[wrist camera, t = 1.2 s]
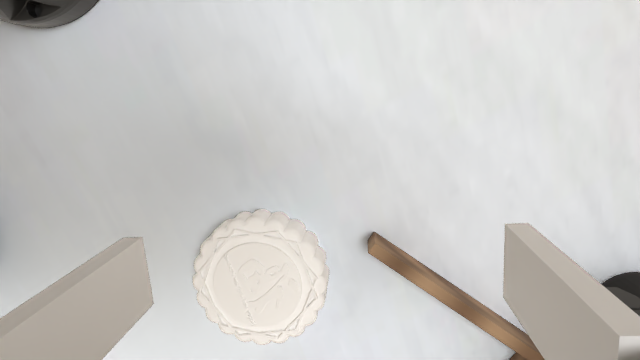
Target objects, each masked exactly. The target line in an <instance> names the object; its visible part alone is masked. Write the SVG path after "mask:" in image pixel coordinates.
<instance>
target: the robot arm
mask: <svg viewBox="0 0 640 360" xmlns="http://www.w3.org/2000/svg"><path fill="white" fill-rule="evenodd" d="M97 1H98V0H0V20H3V21H6V22H10V23H15V24H20V25H25V26H30V27H39V28H46V27H55V26H60V25H63V24H66V23H69V22H71V21H73V20H75V19H77V18H79V17H80V16H82V15H83V14H85V13H86V12H87V11H88V10H90V9H91V8H92V7H93V6H94V5H95V3H96V2H97ZM503 298H504V299H505V301H506V302H507V304H508V305H509V307H510V308H511V310H512V311H513V313H514V314H515V316H516V317H517V319H518V320H519V322H520V323H521V325H522V326H523V328H524V329H525V331H526V332H527V334H528V335H529V337H530V338H531V340H532V341H533V343H534V344H535V346H536V347H537V349H538V350H539V352H540V353H541V355H542V356H543V358H544V359H545V360H640V298H638V297H637V296H635V295H633V294H631V293H629V292H626V291H624V290H622V289H620V288H618V287H604V286H603V285H602V284H600V283H599V282H598V281H597V280H596V279H594V278H593V277H592V276H591V275H590V274H588V273H587V272H586V271H585V270H584V269H583V268H581V267H580V266H579V265H578V264H577V263H575V262H574V261H573V260H572V259H571V258H569V257H568V256H567V255H566V254H565V253H563V252H562V251H561V250H560V249H559V248H557V247H556V246H555V245H554V244H553V243H552V242H550V241H549V240H548V239H547V238H546V237H544V236H543V235H542V234H541V233H540V232H538V231H537V230H536V229H535V228H534V227H532V226H531V225H530V224H529V223H516V224H505V244H504V283H503ZM153 304H154V302H153V296H152V291H151V285H150V279H149V273H148V267H147V262H146V256H145V250H144V244H143V238H142V237H130V238H122V239H120V240H119V241H117V242H116V243H114V244H113V245H111V246H110V247H108V248H107V249H105V250H104V251H102V252H101V253H99V254H98V255H96V256H95V257H93V258H91V259H90V260H88V261H87V262H85V263H84V264H82V265H81V266H79V267H78V268H76V269H75V270H73V271H72V272H70V273H69V274H67V275H66V276H64V277H63V278H61V279H60V280H58V281H56V282H55V283H53V284H52V285H50V286H49V287H47V288H46V289H44V290H43V291H41V292H40V293H38V294H37V295H35V296H34V297H32V298H31V299H29V300H28V301H26V302H25V303H23V304H21V305H20V306H18V307H17V308H15V309H14V310H12V311H11V312H9V313H8V314H6V315H5V316H3V317H2V318H0V360H102V359H103V358H104V357H105V356H106V355H107V353H108V352H109V351H110V350H111V349H112V348H113V347H114V346H115V345H116V344H117V343H118V342H119V341H120V339H121V338H122V337H123V336H124V335H125V334H126V333H127V332H128V331H129V330H130V329H131V328H132V327H133V326H134V324H135V323H136V322H137V321H138V320H139V319H140V318H141V317H142V316H143V315H144V314H145V313H146V312H147V310H148V309H149V308H150V307H151V306H152V305H153Z"/></svg>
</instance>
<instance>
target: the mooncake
mask: <svg viewBox="0 0 640 360" xmlns="http://www.w3.org/2000/svg"><path fill="white" fill-rule="evenodd" d="M325 262H326V252H325V251H324V249H323V248H321V247H320V246H318V238H317V236H316V235H315V234H314V233H313V232H311V231H306V227H305V225H304V224H303V223H302V222H301V221H300V220H297V219H291V220H290V218H289V217H288V215H287V214H285V213H283V212H274V213H272V214H271V213H270V212H269V211H268V210H266V209H258V210H256V211H255V212H254V213H253V214H252V213H251V212H247V211H244V212H241V213H239V214H238V215H237V216H236V217H235V218H234V219H227V220H225V221H224V222H223V223H222V224H221V225H220V226H219V227H217V228H216V229H215V230H214V231H213V233H212V235H210V236H209V237H208V238H207V239H206V240H205V241H204V242H203V243H202V245H201V247H200V254H199V255H198V256H197V257H196V259H195V261H194V269H195V271H196V273H195V275H194V276H193V285H194V287H195V289H196V290H198V293H197V301H198V303H199V304H200V305H201V306H202V307H204V308H206V310H205V312H206V316H207V318H208V319H209V320H210V321H212V322H214V323H218V325H219V328H220V330H221V331H222V332H224V333H226V334H234V335H235V337H236V338H237V339H238V340H240V341H242V342H249V341H251V340H253V341H254V342H255V343H256V344H259V345H266V344H268V343H270V342H271V341H273V342H275V343H283V342H285V341H286V340H287V339H288V338H289V336H292V337H296V336H299V335H301V334H302V333H303V332H304V330H305V326H309V325H311V324H313V323H314V322H315V321H316V319H317V315H318V310H320V309H321V308H322V307H323V306H324V303H325V298H326V293H327V284H328V279H329V268H328V266H327V265H326V264H325Z"/></svg>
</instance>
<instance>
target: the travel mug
mask: <svg viewBox="0 0 640 360" xmlns="http://www.w3.org/2000/svg"><path fill="white" fill-rule="evenodd" d="M602 285H603V286H604V287H618V288H620V289H622V290H624V291H626V292H629V293H631V294H633V295H635V296H637V297H638V298H640V272H631V273H624V274H620V275H618V276H615V277H613V278H611V279H609V280H607V281H606V282H604V283H603V284H602Z"/></svg>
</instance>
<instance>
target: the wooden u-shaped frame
mask: <svg viewBox="0 0 640 360" xmlns="http://www.w3.org/2000/svg"><path fill="white" fill-rule="evenodd" d="M368 253H369V254H371V255H372V256H374V257H375V258H377V259H378V260H380V261H381V262H383V263H384V264H386V265H387V266H389V267H390V268H392V269H393V270H395V271H396V272H398V273H399V274H401V275H402V276H404V277H405V278H407V279H408V280H410V281H411V282H413V283H414V284H416V285H417V286H418V287H420V288H421V289H423V290H424V291H426V292H427V293H429V294H430V295H432V296H433V297H435V298H436V299H438V300H439V301H441V302H442V303H444V304H445V305H447V306H448V307H450V308H451V309H453V310H454V311H456V312H457V313H459V314H460V315H462V316H463V317H465V318H466V319H468V320H469V321H471V322H472V323H474V324H475V325H477V326H478V327H480V328H481V329H483V330H484V331H486V332H487V333H489V334H490V335H492V336H493V337H495V338H496V339H498V340H499V341H501V342H502V343H504V344H505V345H507V346H508V347H510V348H511V349H512V350H514V351H515V352H516V353H515V354H514V355H513V356H512V357H511V358H510V360H545V359H544V358H543V356H542V355H541V353H540V352H539V350H538V349H537V347H536V346H535V344H534V343H533V341H532V340H531V338H530V337H529V335H527V334H526V333H524V332H523V331H521V330H520V329H519V328H517V327H516V326H514V325H513V324H511V323H510V322H508V321H507V320H505V319H504V318H502V317H501V316H499V315H498V314H496V313H495V312H493V311H492V310H490V309H489V308H487V307H486V306H484V305H483V304H481V303H480V302H478V301H477V300H475V299H474V298H472V297H471V296H469V295H468V294H466V293H465V292H463V291H462V290H460V289H459V288H458V287H456V286H455V285H453V284H452V283H450V282H449V281H447V280H446V279H444V278H443V277H441V276H440V275H438V274H437V273H435V272H434V271H432V270H431V269H429V268H428V267H426V266H425V265H423V264H422V263H420V262H419V261H417V260H416V259H414V258H413V257H411V256H410V255H408V254H407V253H405V252H404V251H402V250H401V249H399V248H398V247H397V246H395V245H394V244H392V243H391V242H389V241H388V240H386V239H385V238H383V237H382V236H380V235H379V234H377V233H376V232H374V233H373V234H372V235H371V237H370V238H369V240H368Z"/></svg>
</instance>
